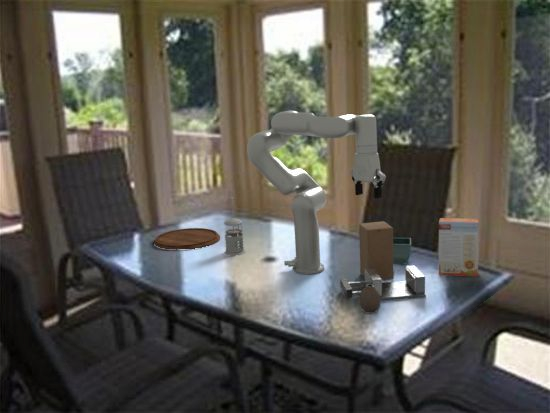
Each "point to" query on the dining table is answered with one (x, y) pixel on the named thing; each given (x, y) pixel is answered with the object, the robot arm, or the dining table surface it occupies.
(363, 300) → the vase
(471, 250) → the cracker box
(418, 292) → the vise
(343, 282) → the sliding jaw
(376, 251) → the wooden block
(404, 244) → the flower pot
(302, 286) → the dining table surface
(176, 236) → the cutting board
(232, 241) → the french press
